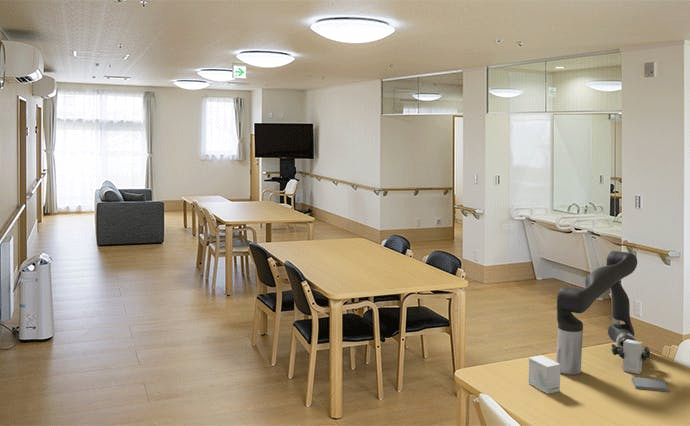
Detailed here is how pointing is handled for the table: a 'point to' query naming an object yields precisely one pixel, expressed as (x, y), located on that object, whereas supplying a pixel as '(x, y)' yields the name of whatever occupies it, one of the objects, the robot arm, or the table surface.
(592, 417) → the table surface
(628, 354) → the skincare box
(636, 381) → the mat
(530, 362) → the skincare box
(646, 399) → the table surface
